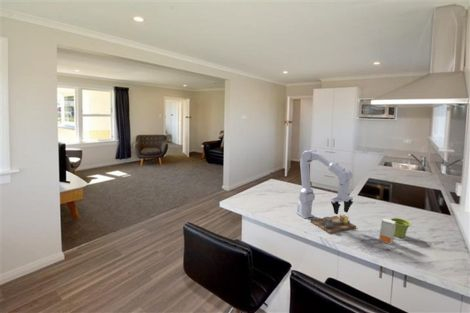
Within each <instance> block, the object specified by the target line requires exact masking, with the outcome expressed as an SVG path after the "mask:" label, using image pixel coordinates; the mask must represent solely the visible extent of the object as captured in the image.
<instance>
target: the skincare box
mask: <svg viewBox="0 0 470 313" xmlns="http://www.w3.org/2000/svg"><path fill="white" fill-rule="evenodd" d="M395 226H396V222H395V221H392V220H391V219H388V218H383V219H382V220H381V222H380V231H379V236H378V241H379V242H382V243H386V244H388V245H392V243H393V242H394V238H395V236H394V233H395Z"/></svg>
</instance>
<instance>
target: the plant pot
mask: <svg viewBox="0 0 470 313" xmlns="http://www.w3.org/2000/svg"><path fill="white" fill-rule="evenodd" d="M390 220H392V221H395V222H396V226H395V233H394V238H398V239H404V238H405V237H406V233H407V231H408V229H409V226H411V223H410V221H408V220H406V219H404V218H403V219H402V218H397V217H393V218H392V217H391V218H390Z"/></svg>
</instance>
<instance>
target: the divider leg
mask: <svg viewBox="0 0 470 313" xmlns="http://www.w3.org/2000/svg"><path fill="white" fill-rule="evenodd" d="M338 217H340V220H339V221H342V222H343V225H346V224H348V220H349V216H348V215H345V214H342V215H341V214H340V215H339V216H338Z"/></svg>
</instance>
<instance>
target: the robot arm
mask: <svg viewBox="0 0 470 313" xmlns="http://www.w3.org/2000/svg"><path fill="white" fill-rule="evenodd" d="M299 161H300V162H299V166H300V178H301V190H300V191H299V196H298V202H297V204H296V206H297V207H296V212H295V214H297V215H298V216H301V218H303V219H308V218H314V217H315V216H314V214H312V210H313V209H312V208H313V202H314V201H315V197H316V195H315V193H314V190H313V189H312V187H311V174H310V164H311V163H312V162H313V161H318V162H319V163H321V164H323V165H324V166H326V167H327V168H328V171H330V172H331V173H332V174H333V175H335V176H336V177H337V179H338V187H337V188H338V189H337V195H336V197H333V198H331V202H330V204H331V205H332V208H333V213H334V214H335V215H338V214H339V209H340V207H341V203H340V202H343V211H344V212H345V213H348V212H349V210H350V208H351V206H352V205H353V203H354V201H353V200H354V197H353V196H350V195H349V193H350V192H349V190H350V183H351V179H352V178H353V173H352V172H351V171H350V170H349V169H346V168H344V167H342V166H340V165H339V163H338V162H332V161H330V160H329V159H328V158H327V157H325V156H324V155H323V154H321V152H320V151H318V150H317V149H310V150H304V151H303V152H302V153H301V157H300V160H299Z"/></svg>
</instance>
